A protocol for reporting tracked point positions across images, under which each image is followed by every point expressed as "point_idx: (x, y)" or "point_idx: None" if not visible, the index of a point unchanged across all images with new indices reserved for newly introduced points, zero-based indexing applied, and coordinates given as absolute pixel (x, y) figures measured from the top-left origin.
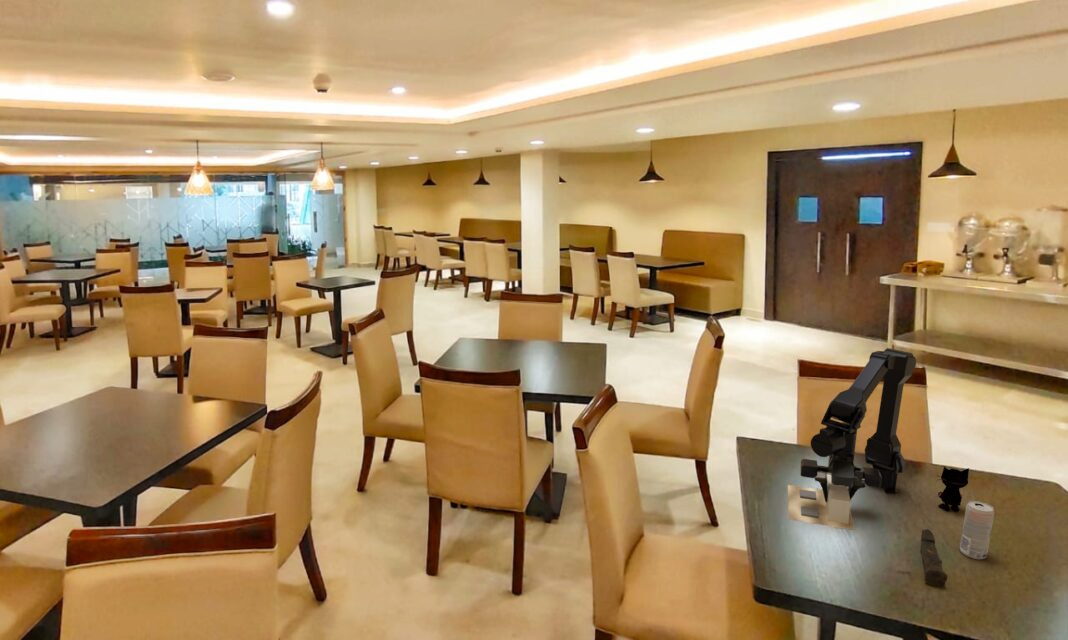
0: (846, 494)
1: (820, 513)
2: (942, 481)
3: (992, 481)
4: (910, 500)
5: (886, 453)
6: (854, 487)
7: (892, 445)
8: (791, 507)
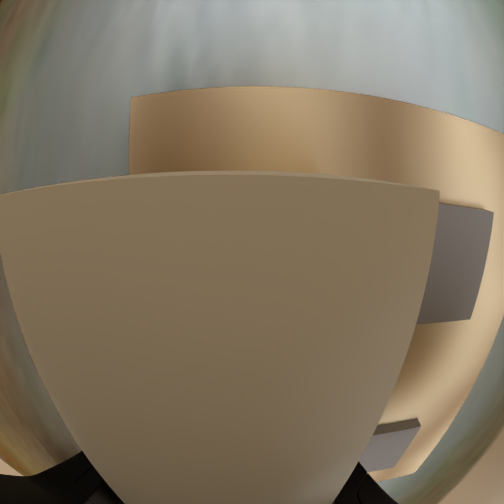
0: (100, 445)
1: None
2: None
3: (4, 456)
4: (38, 437)
5: None
6: (26, 500)
7: None
8: (499, 299)
